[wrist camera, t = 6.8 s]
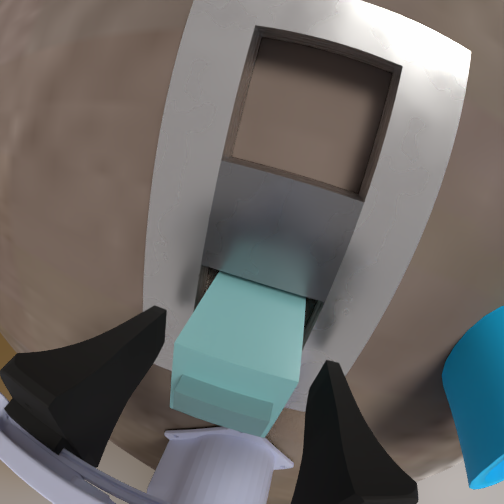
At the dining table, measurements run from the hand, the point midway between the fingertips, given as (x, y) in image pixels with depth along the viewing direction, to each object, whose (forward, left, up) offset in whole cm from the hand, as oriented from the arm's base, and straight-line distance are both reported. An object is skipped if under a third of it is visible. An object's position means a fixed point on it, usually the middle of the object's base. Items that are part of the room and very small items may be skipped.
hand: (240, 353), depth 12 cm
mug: (+12, -12, -3) cm, 18 cm away
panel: (+4, +4, -3) cm, 6 cm away
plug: (0, 0, -3) cm, 3 cm away
